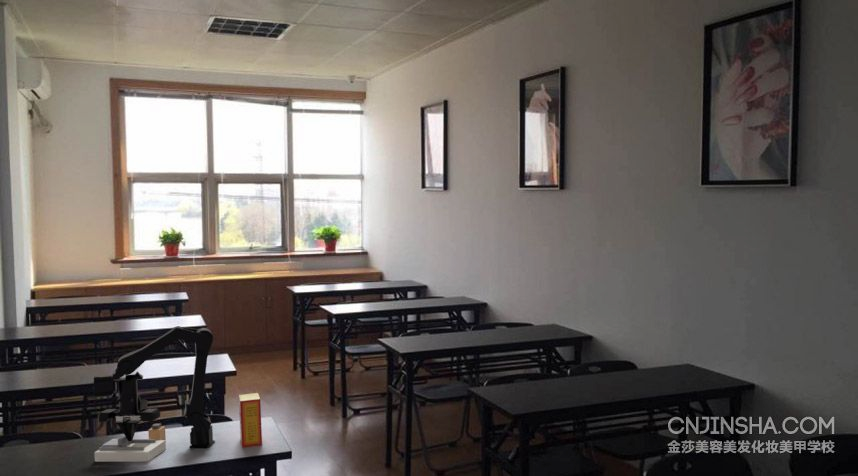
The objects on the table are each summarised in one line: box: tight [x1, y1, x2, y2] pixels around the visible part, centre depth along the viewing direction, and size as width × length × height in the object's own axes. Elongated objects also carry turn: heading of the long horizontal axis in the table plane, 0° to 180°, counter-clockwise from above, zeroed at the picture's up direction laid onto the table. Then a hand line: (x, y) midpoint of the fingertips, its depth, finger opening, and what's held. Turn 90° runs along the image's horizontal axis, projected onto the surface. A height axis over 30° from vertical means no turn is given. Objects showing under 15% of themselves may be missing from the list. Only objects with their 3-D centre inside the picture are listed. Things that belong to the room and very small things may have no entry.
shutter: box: [101, 434, 132, 447], centre depth 232 cm, size 6×6×3 cm
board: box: [93, 438, 167, 463], centre depth 231 cm, size 18×12×4 cm, turn 84°
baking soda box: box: [238, 392, 263, 449], centre depth 241 cm, size 10×6×16 cm
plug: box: [147, 423, 167, 440], centre depth 241 cm, size 4×4×7 cm
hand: (130, 441), depth 231 cm, fingers closed
